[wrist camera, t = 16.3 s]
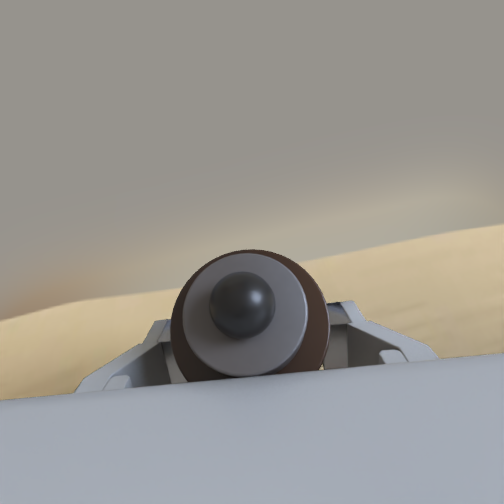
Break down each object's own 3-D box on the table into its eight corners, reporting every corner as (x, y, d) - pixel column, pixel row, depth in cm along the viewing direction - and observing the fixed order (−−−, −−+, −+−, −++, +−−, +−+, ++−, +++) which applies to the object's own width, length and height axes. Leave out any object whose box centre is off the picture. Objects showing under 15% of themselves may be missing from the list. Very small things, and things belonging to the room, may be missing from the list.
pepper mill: (287, 322, 22) (294, 182, 8) (316, 393, 20) (388, 359, 6) (221, 347, 21) (119, 242, 8) (244, 421, 19) (159, 450, 6)
